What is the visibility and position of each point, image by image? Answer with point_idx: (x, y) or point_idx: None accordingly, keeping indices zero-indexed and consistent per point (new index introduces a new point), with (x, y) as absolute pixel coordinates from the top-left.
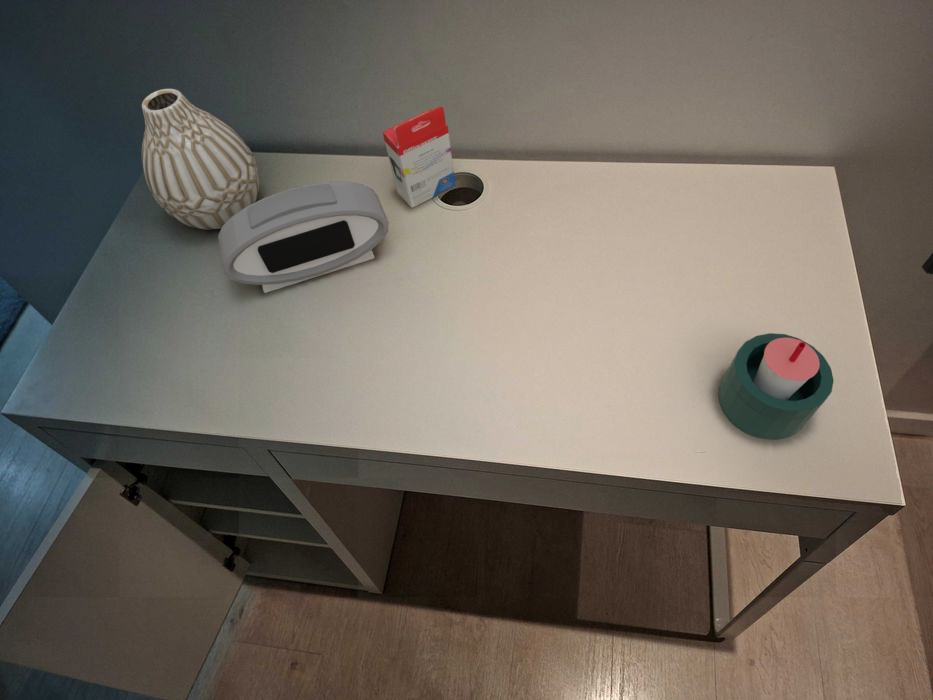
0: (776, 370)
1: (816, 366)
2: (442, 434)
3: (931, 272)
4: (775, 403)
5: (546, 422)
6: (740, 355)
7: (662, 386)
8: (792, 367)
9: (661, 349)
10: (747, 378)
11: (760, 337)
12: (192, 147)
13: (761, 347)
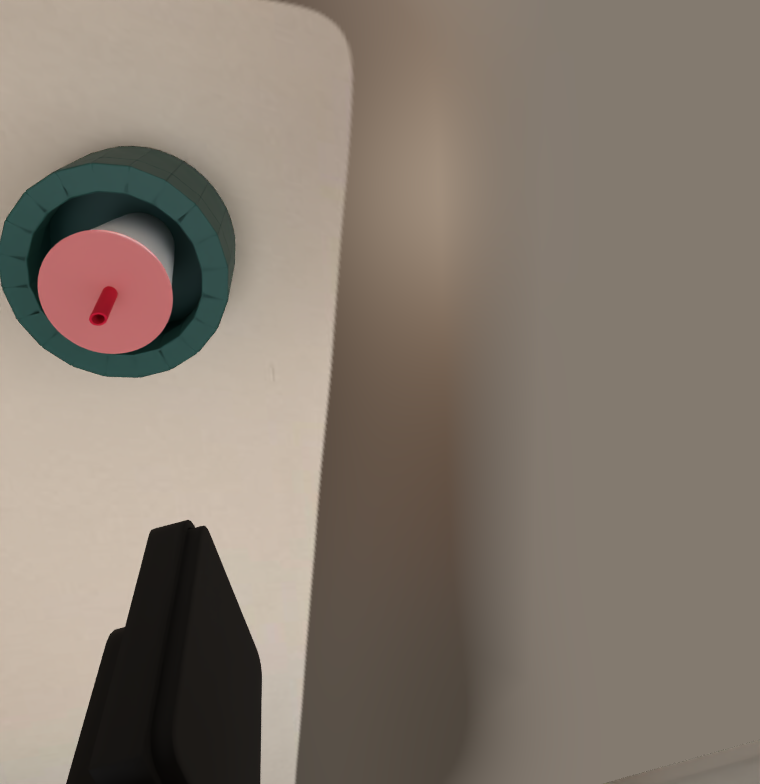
0: (148, 334)
1: (123, 241)
2: (270, 724)
3: (261, 672)
4: (212, 311)
5: None
6: (87, 364)
7: (132, 427)
8: (134, 297)
9: (35, 424)
10: (151, 357)
11: (21, 312)
12: None
13: None
